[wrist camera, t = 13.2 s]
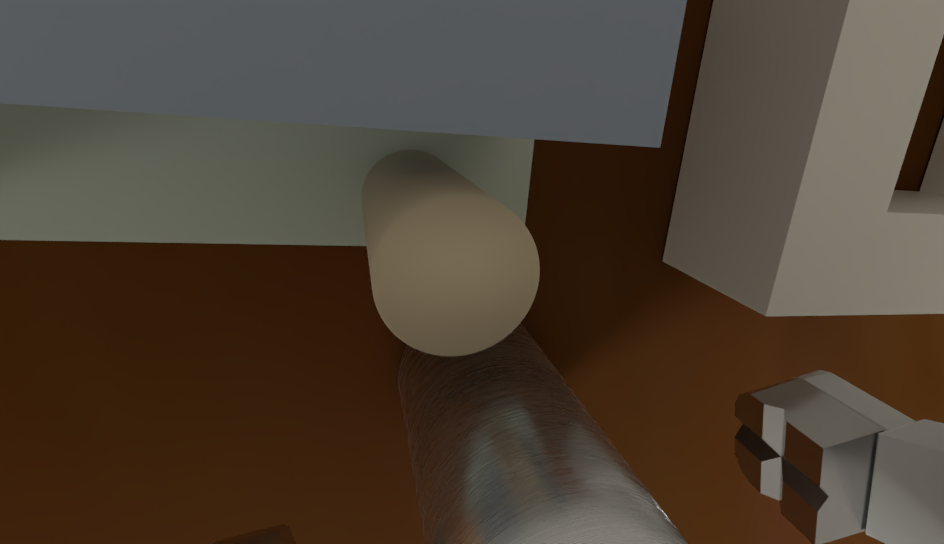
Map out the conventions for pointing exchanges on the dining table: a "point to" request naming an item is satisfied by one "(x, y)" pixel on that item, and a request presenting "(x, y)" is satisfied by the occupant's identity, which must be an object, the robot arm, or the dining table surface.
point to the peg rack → (293, 203)
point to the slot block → (812, 159)
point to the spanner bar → (357, 63)
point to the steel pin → (516, 454)
